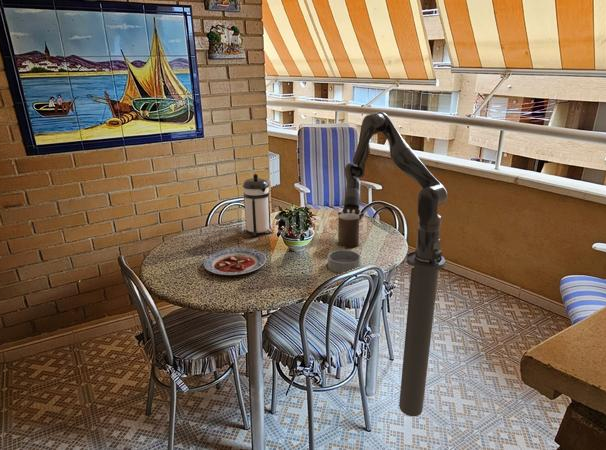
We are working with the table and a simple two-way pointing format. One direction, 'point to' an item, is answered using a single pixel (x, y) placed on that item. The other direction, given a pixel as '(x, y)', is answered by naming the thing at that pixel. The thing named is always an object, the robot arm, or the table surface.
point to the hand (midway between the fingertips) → (349, 231)
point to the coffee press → (257, 205)
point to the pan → (343, 260)
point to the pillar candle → (348, 230)
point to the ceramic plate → (234, 261)
